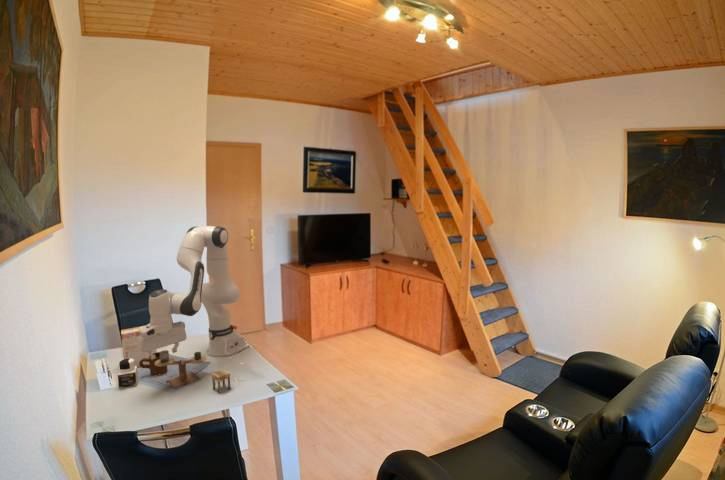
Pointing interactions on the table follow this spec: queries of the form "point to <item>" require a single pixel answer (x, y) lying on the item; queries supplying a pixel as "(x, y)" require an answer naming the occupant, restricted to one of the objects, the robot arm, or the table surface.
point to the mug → (153, 365)
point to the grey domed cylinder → (164, 356)
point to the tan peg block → (221, 379)
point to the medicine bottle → (127, 374)
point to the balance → (183, 370)
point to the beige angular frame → (238, 378)
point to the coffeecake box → (133, 346)
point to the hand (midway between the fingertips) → (164, 355)
